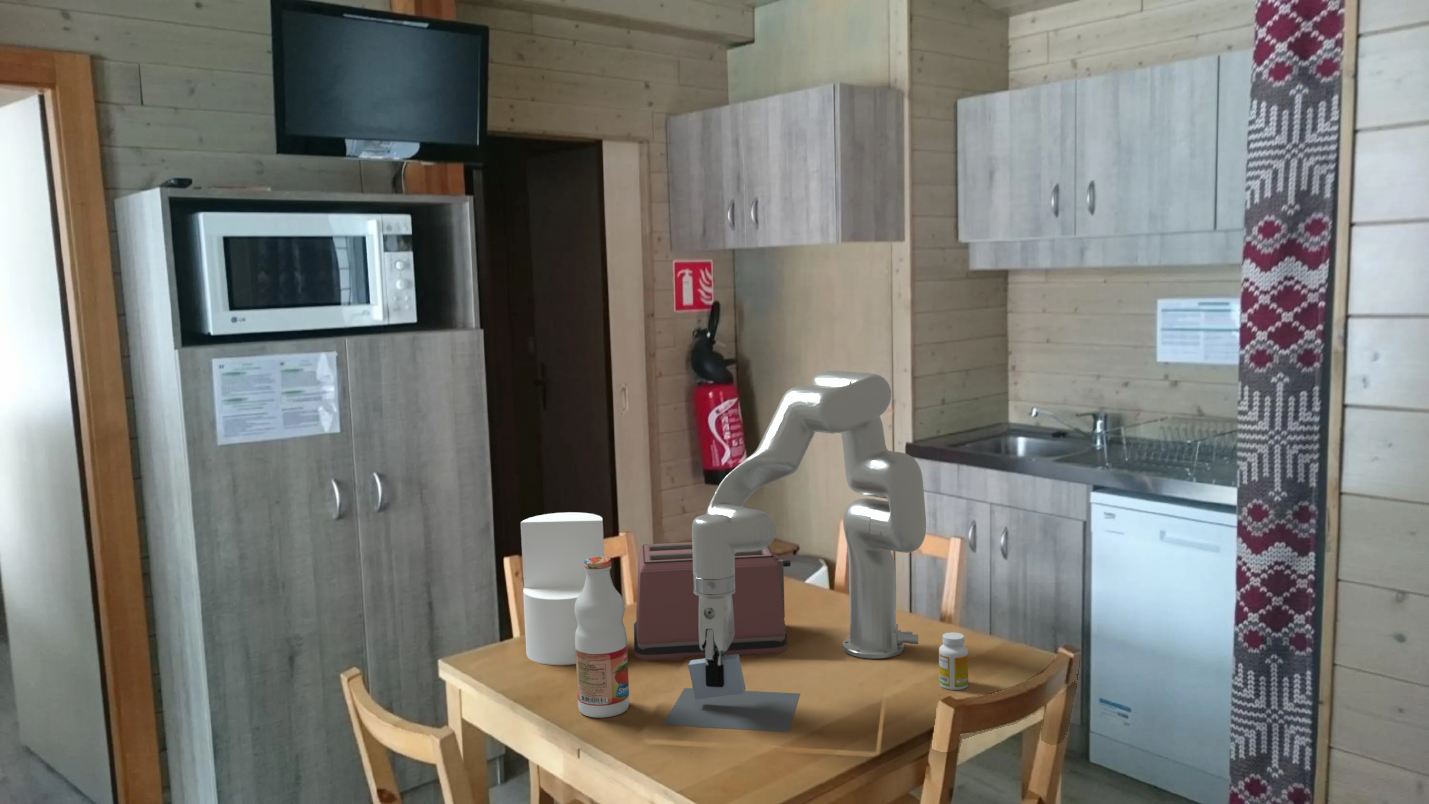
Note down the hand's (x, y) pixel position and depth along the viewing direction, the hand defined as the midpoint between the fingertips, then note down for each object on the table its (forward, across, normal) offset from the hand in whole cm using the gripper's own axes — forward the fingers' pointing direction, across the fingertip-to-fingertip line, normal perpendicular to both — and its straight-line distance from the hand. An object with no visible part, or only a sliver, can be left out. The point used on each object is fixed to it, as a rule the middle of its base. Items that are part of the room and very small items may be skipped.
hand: (716, 682), depth 195 cm
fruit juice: (+6, -2, +21) cm, 22 cm away
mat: (+5, -1, -3) cm, 6 cm away
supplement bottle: (+5, +17, -42) cm, 46 cm away
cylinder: (+5, +27, +38) cm, 47 cm away
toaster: (+5, +36, +8) cm, 37 cm away
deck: (+2, 0, -1) cm, 2 cm away
